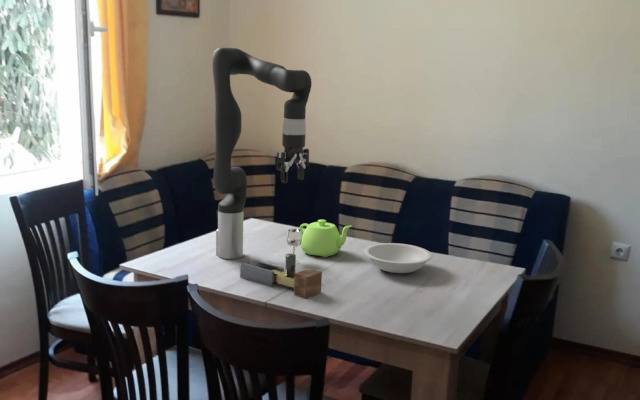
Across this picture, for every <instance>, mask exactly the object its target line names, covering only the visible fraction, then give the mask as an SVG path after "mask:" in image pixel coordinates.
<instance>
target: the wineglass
mask: <svg viewBox="0 0 640 400" xmlns="http://www.w3.org/2000/svg"><path fill="white" fill-rule="evenodd" d="M285 238H286V239H285V241H286V245H287V246H289V247H290V248H292V250H291V251H292V254H295V252H296V248H298V247H301V246H300V245H301V243H302V234H301V230H300V229H299V228H289V229H288V230H287V233H286V237H285ZM299 263H300V261H299V260H297V259H296V265H297V264H299Z"/></svg>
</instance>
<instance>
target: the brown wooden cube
mask: <svg viewBox="0 0 640 400" xmlns="http://www.w3.org/2000/svg"><path fill="white" fill-rule="evenodd" d="M322 278H323V271H320V270H317V269H313V268H310V267H307V268H305V269H302V270H300V271H296V272H295V277H294V288H293V295H295V296H297V297H301V298H304V299H308V300H309V299H310V298H312V297H315V296H317V295H319V294H321V293H322V280H323V279H322Z"/></svg>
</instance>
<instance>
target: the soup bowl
mask: <svg viewBox="0 0 640 400" xmlns="http://www.w3.org/2000/svg"><path fill="white" fill-rule="evenodd" d="M364 255H365V256H366V257H368V258H369V260H370V261H371V263H372V264H373V265H374V266H375V267H377V268H378V269H380V270H382V271H385V272H387V273H393V274H409V273H413V272H415V271H418V270H420V269H421V268H422V267H423V266H424V265H425V264H426V263H427V262H429V261H430V260H431V259H432V258H433V254H432V253H431V252H430V251H429V250H427V249H425V248H423V247H420V246H417V245H413V244H406V243H398V242H397V243H395V242H385V243H377V244H371V245H369V246H366V248H364Z"/></svg>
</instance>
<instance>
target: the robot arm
mask: <svg viewBox="0 0 640 400" xmlns="http://www.w3.org/2000/svg"><path fill="white" fill-rule="evenodd" d="M211 62H212V75H213V85H214V99H215V100H214V101H215V103H214V105H215V107H214V108H215V112H214V113H215V114H214V120H215V121H214V122H215V123H214V125H215V126H214V129H215V147H214V148H215V149H214V150H215V152H214V165H213V175H212V176H213V179H212V180H213V185H214V189H215V191H216V192H217V193H218V194H221V195H225V197H224V198H223V199H222V200H220V201H219V202H218V205H217V229H216V231H215V240H216V241H215V255H216V256H217V257H219V258H221V259H226V260H233V259H234V260H236V259H239V258H242V257H243V256H244V206H245V204H246V201H247V184H248V183H247V182H248V179H247V175H246V172H245V170H244V169H243V168H242V167H241V166H232V158H233V157H232V155H233V153H234V150H235V147H236V145H237V143H238V141H239V139H240V136H241V134H242V112H241V109H240V108H241V107H240V106H239V103H238V102H237V100H236V98H235V96H234V94H233V91H232V87H231V76H236V75H248V76H252V77H255V79H256V80H258V81H260V82H261V83H264V84H267V85H270V86H274V87H276V88H277V89H279V90H280V91H283V92H286V93H292V97H290V99H287V100H286V101H285V102H284V105H283V122H282V140H281V141H282V142H281V145H282V147H283V148H284V150H283V151H277V153H276V164H275V165H276V167H275V170H276V171H280V182H281V183H282V184H287V183H288V181H289V177H288V176H289V172H288V171H289V169H290V167H292V165H294V164H296V166H297V173H296V175H297V180H300V181H303V180H304V178H305V169H306V167H309V166H310V149H309V148H307V147H306V134H307V133H306V130H307V125H306V113H307V112H306V109H307V108H306V107H307V104H308V100H309V98H310V94H311V89H312V79H311V75H310V73H309V72H308V71H306V70H303V69H287V68H286V67H285V66H282V65H280V64H277V63H274V62H272V61H271V62H270V61H266V60H262V59H261V58H260V59H259V58H257V57H255V56H252V55H251V54H249V53H248V52H245V51H243V50H242V49H239V48H235V47H218V48H216V49H215V50H214V52H213V54H212V60H211ZM305 147H306V148H305Z"/></svg>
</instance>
